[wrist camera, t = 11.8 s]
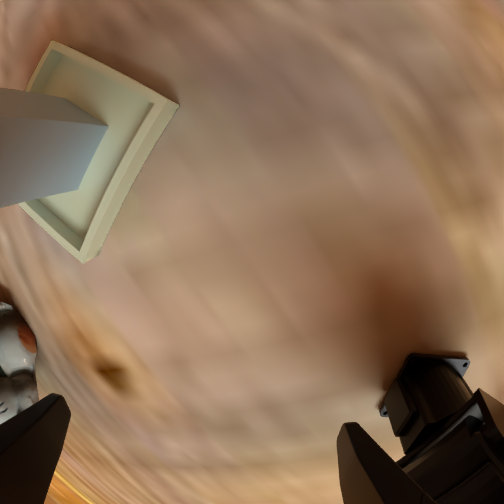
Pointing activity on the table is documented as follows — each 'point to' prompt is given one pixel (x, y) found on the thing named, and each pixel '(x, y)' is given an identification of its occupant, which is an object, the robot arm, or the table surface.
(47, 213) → the tray
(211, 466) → the table surface
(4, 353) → the lucky cat figurine
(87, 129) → the post
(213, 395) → the table surface
